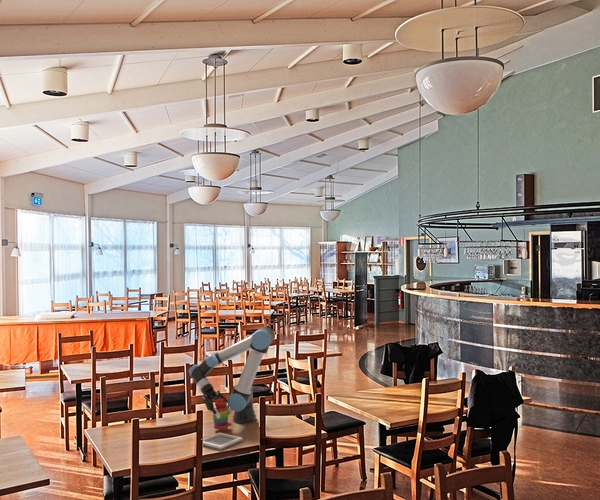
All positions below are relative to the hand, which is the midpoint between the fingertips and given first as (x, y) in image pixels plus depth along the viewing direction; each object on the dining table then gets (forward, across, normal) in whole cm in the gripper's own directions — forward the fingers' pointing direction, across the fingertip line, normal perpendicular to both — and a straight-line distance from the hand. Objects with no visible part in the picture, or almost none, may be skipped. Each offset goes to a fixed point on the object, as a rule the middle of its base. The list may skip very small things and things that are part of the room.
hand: (224, 415), depth 359 cm
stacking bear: (+3, 0, -8) cm, 8 cm away
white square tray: (+15, +17, +2) cm, 23 cm away
